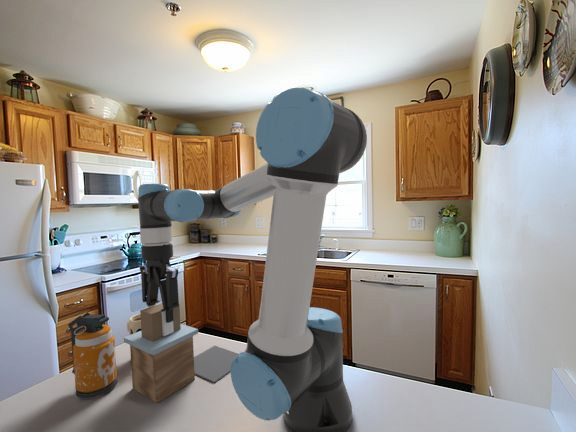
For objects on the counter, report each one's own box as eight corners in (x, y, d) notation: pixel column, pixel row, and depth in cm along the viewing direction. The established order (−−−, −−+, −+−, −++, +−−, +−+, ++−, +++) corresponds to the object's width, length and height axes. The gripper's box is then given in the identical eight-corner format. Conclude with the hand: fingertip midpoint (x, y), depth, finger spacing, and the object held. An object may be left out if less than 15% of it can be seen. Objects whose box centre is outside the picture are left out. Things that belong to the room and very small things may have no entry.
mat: (249, 358, 89) (249, 357, 89) (214, 383, 77) (214, 381, 77) (214, 346, 97) (214, 345, 97) (178, 367, 86) (178, 365, 86)
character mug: (120, 361, 90) (118, 320, 89) (137, 350, 97) (135, 311, 96) (151, 365, 87) (149, 322, 87) (166, 353, 94) (164, 313, 94)
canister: (97, 403, 71) (92, 322, 70) (60, 398, 73) (54, 319, 72) (125, 381, 80) (120, 308, 79) (90, 377, 82) (86, 307, 81)
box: (194, 379, 80) (192, 334, 79) (157, 403, 70) (154, 352, 70) (169, 367, 86) (167, 325, 85) (132, 388, 76) (129, 341, 76)
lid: (198, 337, 79) (196, 303, 79) (153, 360, 68) (151, 320, 68) (168, 327, 86) (167, 296, 86) (124, 346, 76) (122, 310, 75)
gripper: (191, 243, 74) (195, 333, 75) (150, 240, 84) (154, 319, 85) (165, 247, 68) (170, 345, 69) (124, 243, 78) (129, 329, 79)
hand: (161, 331), depth 77 cm, fingers closed on lid, 5 cm apart
